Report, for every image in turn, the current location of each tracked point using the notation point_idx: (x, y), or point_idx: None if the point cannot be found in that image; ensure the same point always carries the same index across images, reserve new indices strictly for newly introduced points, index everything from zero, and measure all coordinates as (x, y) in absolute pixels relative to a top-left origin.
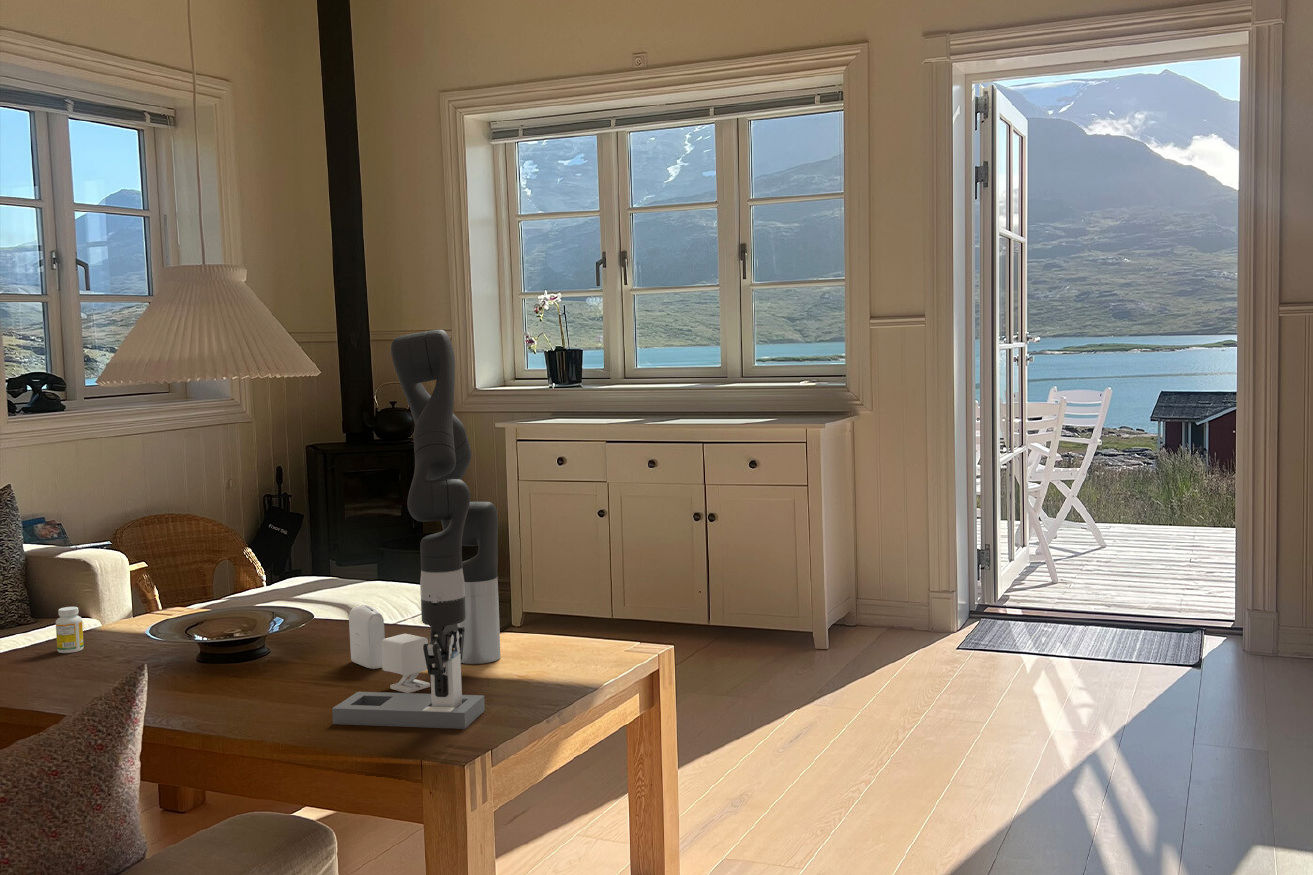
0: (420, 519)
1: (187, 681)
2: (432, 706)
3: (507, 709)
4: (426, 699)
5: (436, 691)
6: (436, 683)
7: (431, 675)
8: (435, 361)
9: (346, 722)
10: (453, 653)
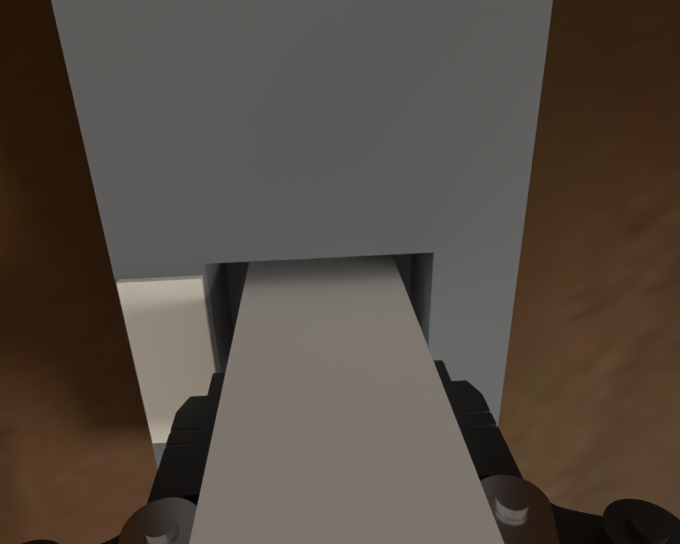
0: None
1: None
2: (245, 291)
3: (530, 468)
4: (389, 187)
5: (177, 419)
6: (162, 471)
7: (212, 451)
8: None
9: None
10: None
